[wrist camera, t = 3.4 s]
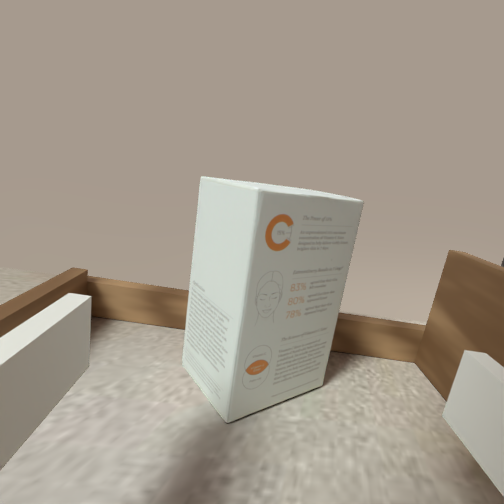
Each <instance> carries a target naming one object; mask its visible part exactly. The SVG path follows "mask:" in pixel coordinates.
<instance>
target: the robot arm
mask: <svg viewBox="0 0 504 504" xmlns="http://www.w3.org/2000/svg"><path fill="white" fill-rule="evenodd" d="M501 267H504V259H503V261H502V264H501ZM91 298H92V296H87V295H81V294H74V293H68V294H67V295H65V296H64V297H62V298H60V299H59V300H57V301H56V302H54V303H53V304H51V305H50V306H48V307H47V308H45V309H44V310H42V311H40V312H39V313H37V314H36V315H34V316H33V317H31V318H30V319H28V320H27V321H25V322H24V323H22V324H20V325H19V326H17V327H16V328H14V329H13V330H11V331H10V332H8V333H7V334H5V335H4V336H2V337H1V338H0V470H1V469H2V468H3V467H4V466H5V464H6V463H7V462H8V461H9V460H10V459H11V457H12V456H13V455H14V454H15V453H16V452H17V450H18V449H19V448H20V447H21V446H22V445H23V443H24V442H25V441H26V440H27V439H28V438H29V436H30V435H31V434H32V433H33V432H34V431H35V429H36V428H37V427H38V426H39V425H40V424H41V422H42V421H43V420H44V419H45V418H46V417H47V415H48V414H49V413H50V412H51V411H52V409H53V408H54V407H55V406H56V405H57V404H58V402H59V401H60V400H61V399H62V398H63V397H64V395H65V394H66V393H67V392H68V391H69V390H70V388H71V387H72V386H73V385H74V384H75V383H76V381H77V380H78V379H79V378H80V377H81V376H82V374H83V373H84V372H85V371H86V370H87V369H88V367H89V358H90V328H91ZM442 416H443V418H444V419H445V420H446V422H447V423H448V424H449V426H450V427H451V428H452V430H453V431H454V432H455V434H456V435H457V436H458V437H459V439H460V440H461V441H462V443H463V444H464V445H465V447H466V448H467V449H468V451H469V452H470V453H471V455H472V456H473V457H474V459H475V460H476V461H477V462H478V464H479V465H480V466H481V468H482V469H483V470H484V472H485V473H486V474H487V476H488V477H489V478H490V480H491V481H492V482H493V484H494V485H495V486H496V487H497V489H498V490H499V491H500V493H501V494H502V495H503V497H504V367H503V366H501V365H500V364H499V363H498V362H496V361H495V360H494V359H493V358H491V357H490V356H489V355H488V354H486V353H482V352H475V351H468V350H464V353H463V356H462V359H461V362H460V365H459V368H458V371H457V374H456V376H455V379H454V382H453V385H452V388H451V391H450V394H449V397H448V400H447V403H446V405H445V408H444V411H443V414H442Z"/></svg>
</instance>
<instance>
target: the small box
mask: <svg viewBox="0 0 504 504" xmlns="http://www.w3.org/2000/svg"><path fill="white" fill-rule="evenodd" d="M363 204H364V201H361V200H358V199H355V198H350V197H346V196H341V195H337V194H331V193H326V192H320V191H314V190H308V189H301V188H295V187H286V186H278V185H270V184H263V183H254V182H246V181H237V180H228V179H220V178H212V177H204V176H202V177H201V179H200V188H199V198H198V208H197V218H196V228H195V238H194V248H193V257H192V268H191V277H190V287H189V296H188V306H187V315H186V326H185V337H184V346H183V355H182V364H183V367H184V368H185V369H186V370H187V372H188V373H189V374H190V376H191V377H192V378H193V380H194V381H195V382H196V384H197V385H198V386H199V388H200V389H201V390H202V392H203V393H204V395H205V396H206V397H207V399H208V400H209V401H210V403H211V404H212V405H213V407H214V408H215V409H216V411H217V412H218V413H219V415H220V416H221V417H222V419H223V420H224V421H225V422H226V423H230V422H232V421H234V420H236V419H239V418H241V417H244V416H246V415H249V414H251V413H254V412H256V411H259V410H261V409H264V408H267V407H269V406H272V405H274V404H277V403H279V402H282V401H284V400H287V399H289V398H292V397H294V396H297V395H299V394H302V393H304V392H307V391H309V390H312V389H315V388H317V387H320V386H322V385H323V381H324V376H325V372H326V367H327V363H328V358H329V354H330V349H331V345H332V340H333V336H334V331H335V327H336V322H337V318H338V314H339V309H340V305H341V300H342V296H343V292H344V288H345V283H346V279H347V274H348V270H349V266H350V261H351V257H352V253H353V248H354V244H355V239H356V235H357V230H358V226H359V222H360V217H361V212H362V209H363Z"/></svg>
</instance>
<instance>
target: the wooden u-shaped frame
mask: <svg viewBox="0 0 504 504" xmlns="http://www.w3.org/2000/svg"><path fill="white" fill-rule="evenodd" d="M87 274H88V270H86V269H79V268H71V269H69V270H67V271H65V272H63V273H61V274H59V275H57V276H56V277H54V278H52V279H50V280H48V281H46V282H44V283H42V284H40V285H38V286H36V287H34V288H33V289H31V290H29V291H27V292H25V293H23V294H21V295H19V296H17V297H15V298H13V299H11V300H10V301H8V302H6V303H4V304H2V305H0V338H1V337H2V336H4V335H5V334H7V333H8V332H10V331H11V330H13V329H14V328H16V327H17V326H19V325H20V324H22V323H24V322H25V321H27V320H28V319H30V318H31V317H33V316H34V315H36V314H37V313H39V312H40V311H42V310H44V309H45V308H47V307H48V306H50V305H51V304H53V303H54V302H56V301H57V300H59V299H60V298H62V297H64V296H65V295H67V294H68V293H74V294H81V295H87V296H92V298H91V316H96V317H103V318H110V319H116V320H123V321H130V322H137V323H144V324H151V325H158V326H165V327H172V328H179V329H185V326H186V315H187V306H188V296H189V291H188V290H181V289H174V288H167V287H161V286H154V285H147V284H140V283H133V282H127V281H120V280H113V279H106V278H99V277H92V276H87ZM330 350H331V351H338V352H345V353H352V354H359V355H366V356H372V357H379V358H386V359H393V360H400V361H407V362H414V363H415V364H416V365H417V366H418V367H419V368H420V370H421V371H422V372H423V373H424V375H425V376H426V377H427V378H428V379H429V381H430V382H431V383H432V384H433V385H434V387H435V388H436V389H437V390H438V392H439V393H440V394H441V395H442V396H443V398H444V399H445V400H446V401H447V400H448V397H449V394H450V391H451V388H452V385H453V382H454V379H455V376H456V374H457V371H458V368H459V365H460V362H461V359H462V356H463V353H464V350H468V351H475V352H482V353H486V354H488V355H489V356H490V357H491V358H493V359H494V360H495V361H496V362H498V363H499V364H500V365H501V366H503V367H504V267H501V266H499V265H496V264H493V263H491V262H488V261H486V260H483V259H481V258H478V257H475V256H473V255H470V254H468V253H465V252H460V251H453V250H449V252H448V256H447V259H446V262H445V265H444V269H443V272H442V275H441V279H440V282H439V285H438V289H437V291H436V295H435V298H434V301H433V305H432V308H431V311H430V314H429V318H428V321H427V324H426V325H419V324H412V323H405V322H399V321H392V320H385V319H378V318H371V317H365V316H358V315H351V314H344V313H339V314H338V318H337V322H336V327H335V331H334V336H333V340H332V345H331V349H330Z"/></svg>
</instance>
